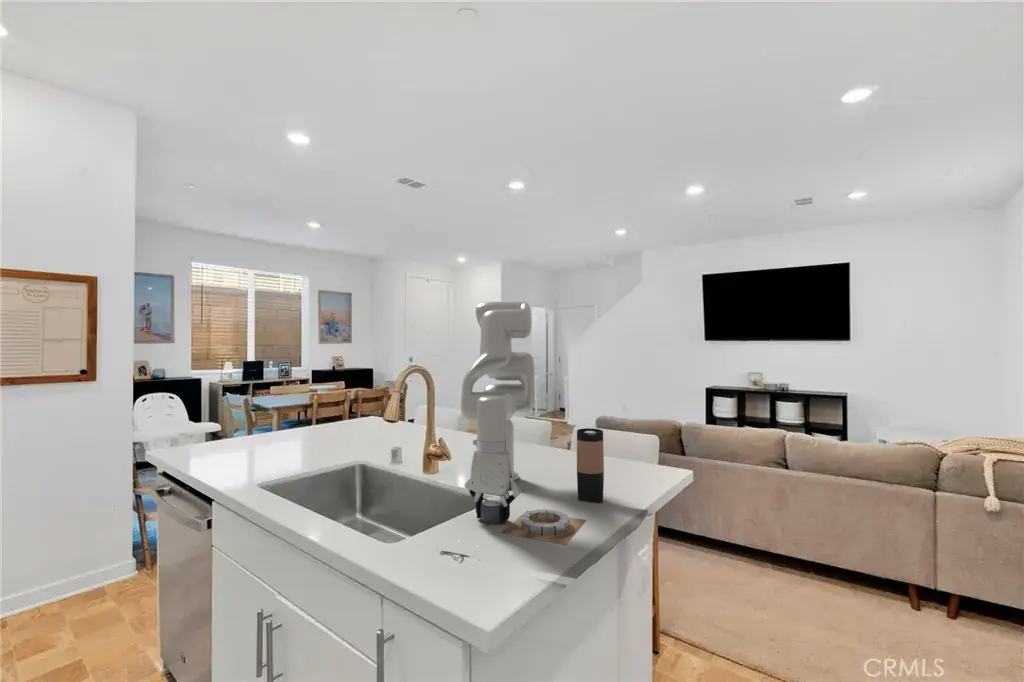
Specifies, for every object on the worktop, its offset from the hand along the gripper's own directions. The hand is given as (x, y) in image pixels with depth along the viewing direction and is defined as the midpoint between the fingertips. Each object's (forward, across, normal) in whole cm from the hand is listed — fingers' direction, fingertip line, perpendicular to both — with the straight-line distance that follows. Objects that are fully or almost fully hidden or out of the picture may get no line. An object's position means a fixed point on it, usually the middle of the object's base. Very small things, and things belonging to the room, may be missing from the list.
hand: (492, 518), depth 117 cm
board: (+2, +13, +2) cm, 13 cm away
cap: (+1, 0, 0) cm, 1 cm away
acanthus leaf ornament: (+2, 0, -17) cm, 17 cm away
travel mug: (+2, +17, +28) cm, 33 cm away
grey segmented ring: (0, +13, +2) cm, 13 cm away
